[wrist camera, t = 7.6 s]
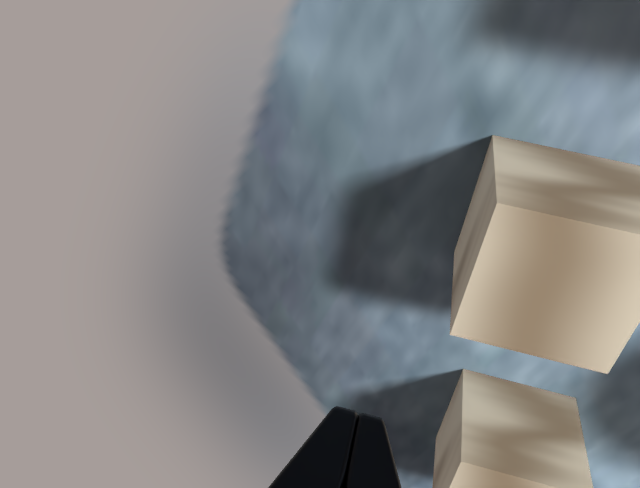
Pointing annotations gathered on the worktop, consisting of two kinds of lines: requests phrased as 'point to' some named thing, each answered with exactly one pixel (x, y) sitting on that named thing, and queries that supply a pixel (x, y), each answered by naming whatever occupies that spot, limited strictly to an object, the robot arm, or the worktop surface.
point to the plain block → (550, 255)
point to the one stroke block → (509, 437)
